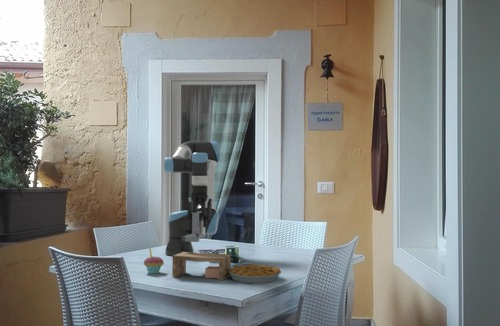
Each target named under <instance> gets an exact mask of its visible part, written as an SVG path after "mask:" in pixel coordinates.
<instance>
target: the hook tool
mask: <svg viewBox="0 0 500 326" xmlns="http://www.w3.org/2000/svg"><path fill="white" fill-rule="evenodd" d="M192 212H193V211H192ZM201 221H203V217H202V212H193V213H192V234H191V235H187V236H183V237H181V241H186V242H191V243H199V242H200V239H201V238H202V239H203V238H206V236H207V235H206V227H205V234H203V235H201Z"/></svg>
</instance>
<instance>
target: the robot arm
mask: <svg viewBox="0 0 500 326" xmlns="http://www.w3.org/2000/svg"><path fill="white" fill-rule="evenodd" d="M219 162H221V156H220V146H219V143H218V141H215V140H214V141H213V140H189V141H185V142H183V143H181V144H179V145H178V146H176V147H175V149H174V154H173V155H172V156H169V157H165V158H164V160H163V169H164V172H165V173H170V174H172V173H174V174H175V173H177V174H178V173H179V174H180V173H181V174H182V173H183V174H185V173H190V174H191V195H190V197H186V198H185V201H186V207H187V210H186V209H185V210H179V211H174V212H170V214H169V216H168V217H169V218H168V241H167V244H166V248H165V251H164V252H165V255H166V256H169V257H173V255H176V254H179V253H182V252H192V253H195V252H194V247H193V242H186V241H181V237H183V236H187V235H191V234H192V213H193V212H202V217H203V221H201V235H203V234H205V227H206V236H208V235H210V236H211V235H212V236H213V235H215V234H216V233H217V230H218V226H219V218H220V214H219V212H217V209H216V208H215V206H214V205H215V176H216V175H215V174H216V173H215V170H216V166H217V165H219ZM192 202H193V204H192ZM192 205H193V206H192Z"/></svg>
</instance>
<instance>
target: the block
mask: <svg viewBox="0 0 500 326" xmlns="http://www.w3.org/2000/svg"><path fill="white" fill-rule="evenodd" d="M204 271H205V274H204V275H205V276H204V277H205V278H211V279H219V266H218V265H217V266H216V265H209V266H207V267H205V270H204Z"/></svg>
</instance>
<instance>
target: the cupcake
mask: <svg viewBox="0 0 500 326" xmlns="http://www.w3.org/2000/svg"><path fill="white" fill-rule="evenodd" d="M148 247H149V249H148V250H149V257H147V258H145V259H144V261H143V265H144V266H145V267H146V271H147V274H149V275H152V274H153V275H155V274H159V273H160V270H161V267H162V266H163V265H164V260H163V259H162V258H161V257H160V256H153V255H152V248H151V247H150V245H149V246H148Z"/></svg>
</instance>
